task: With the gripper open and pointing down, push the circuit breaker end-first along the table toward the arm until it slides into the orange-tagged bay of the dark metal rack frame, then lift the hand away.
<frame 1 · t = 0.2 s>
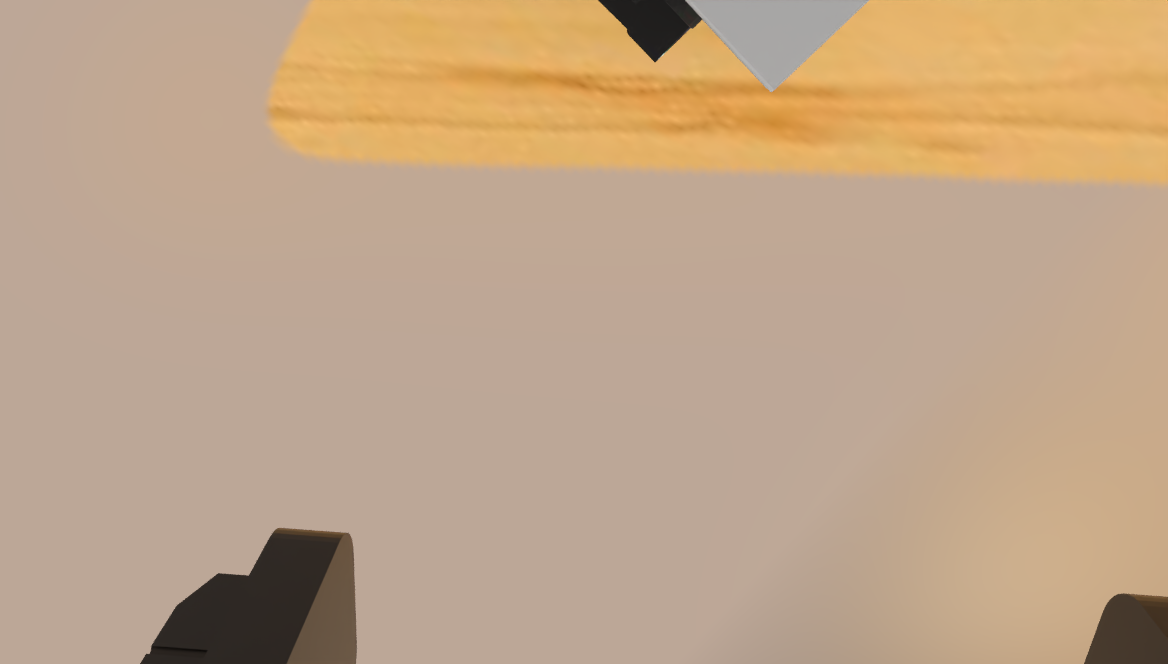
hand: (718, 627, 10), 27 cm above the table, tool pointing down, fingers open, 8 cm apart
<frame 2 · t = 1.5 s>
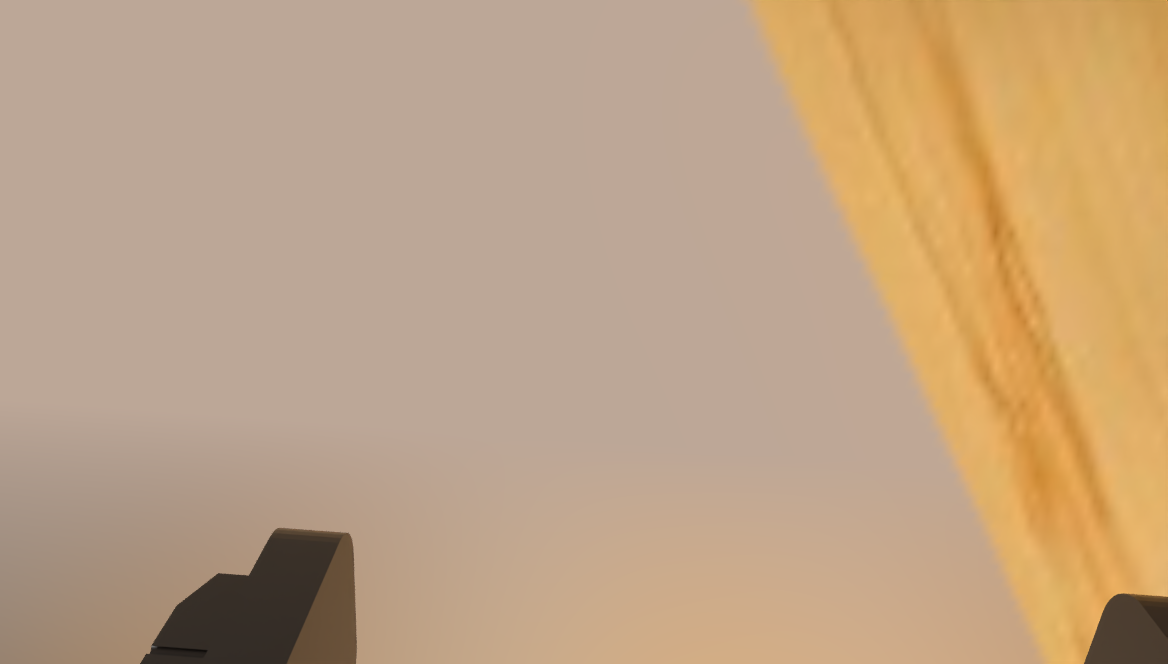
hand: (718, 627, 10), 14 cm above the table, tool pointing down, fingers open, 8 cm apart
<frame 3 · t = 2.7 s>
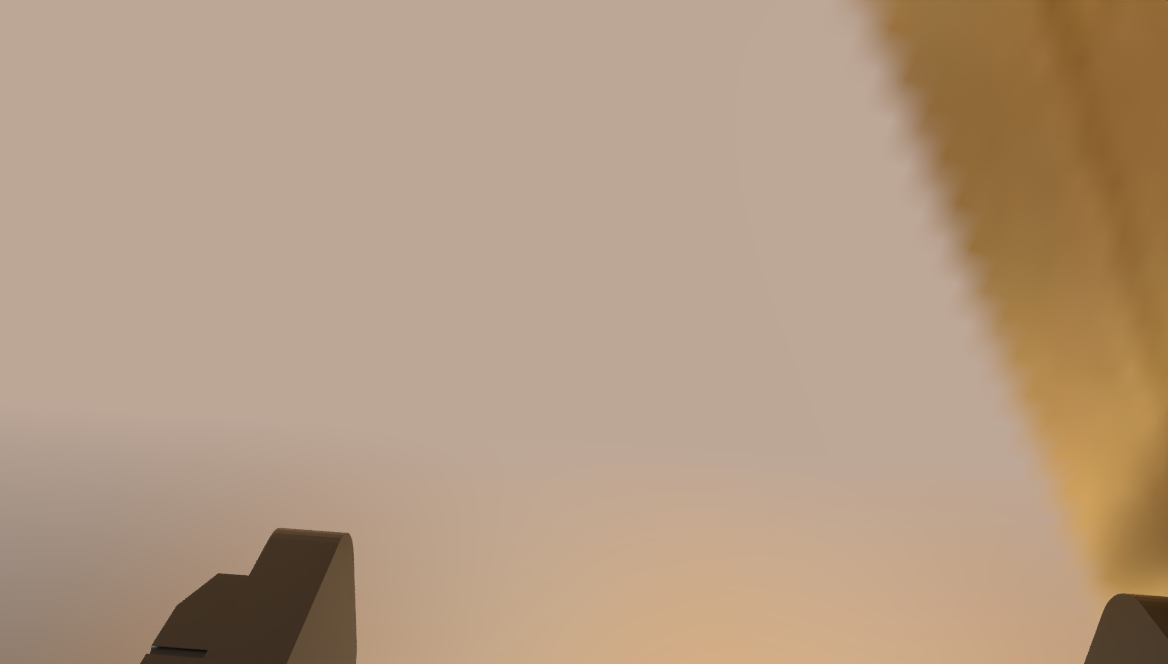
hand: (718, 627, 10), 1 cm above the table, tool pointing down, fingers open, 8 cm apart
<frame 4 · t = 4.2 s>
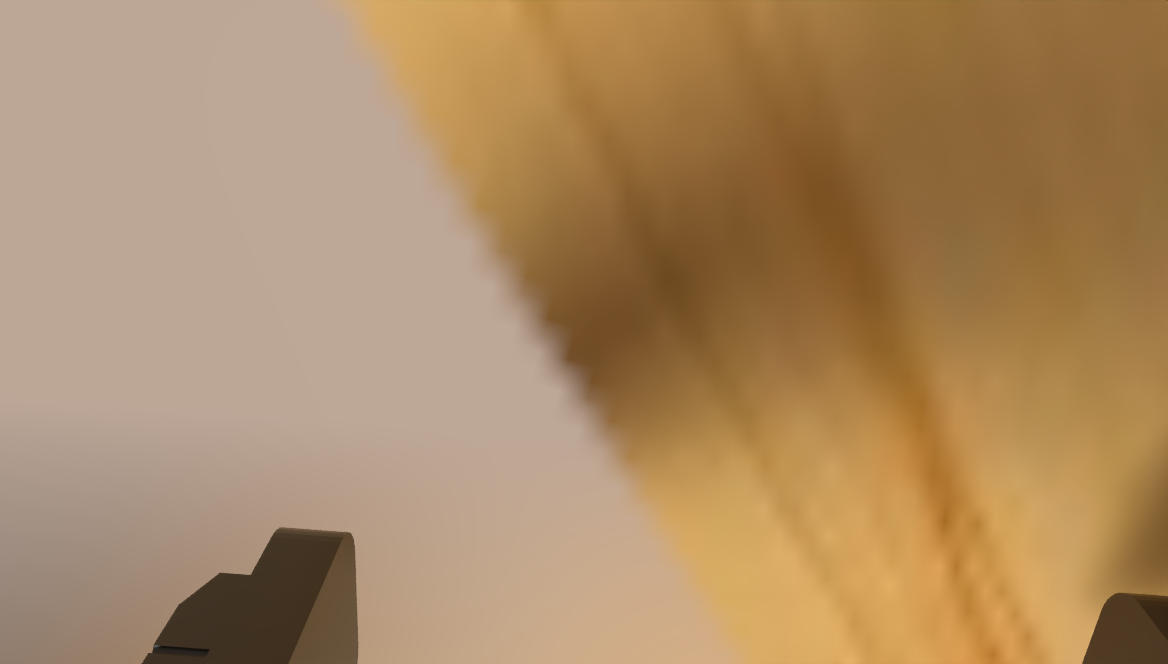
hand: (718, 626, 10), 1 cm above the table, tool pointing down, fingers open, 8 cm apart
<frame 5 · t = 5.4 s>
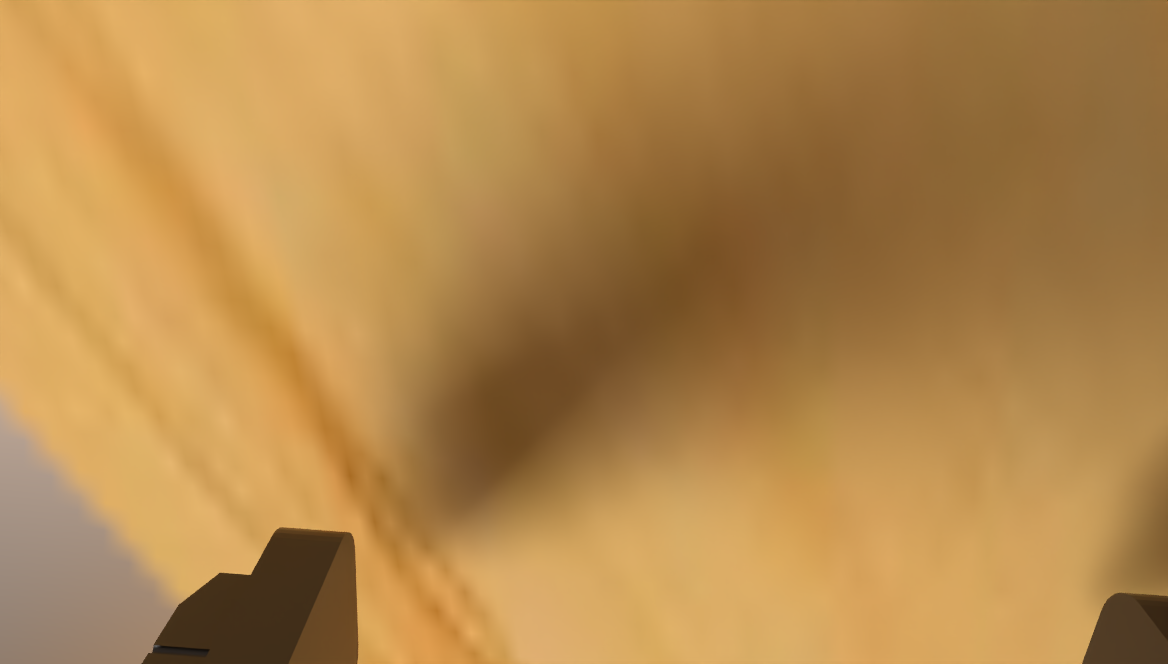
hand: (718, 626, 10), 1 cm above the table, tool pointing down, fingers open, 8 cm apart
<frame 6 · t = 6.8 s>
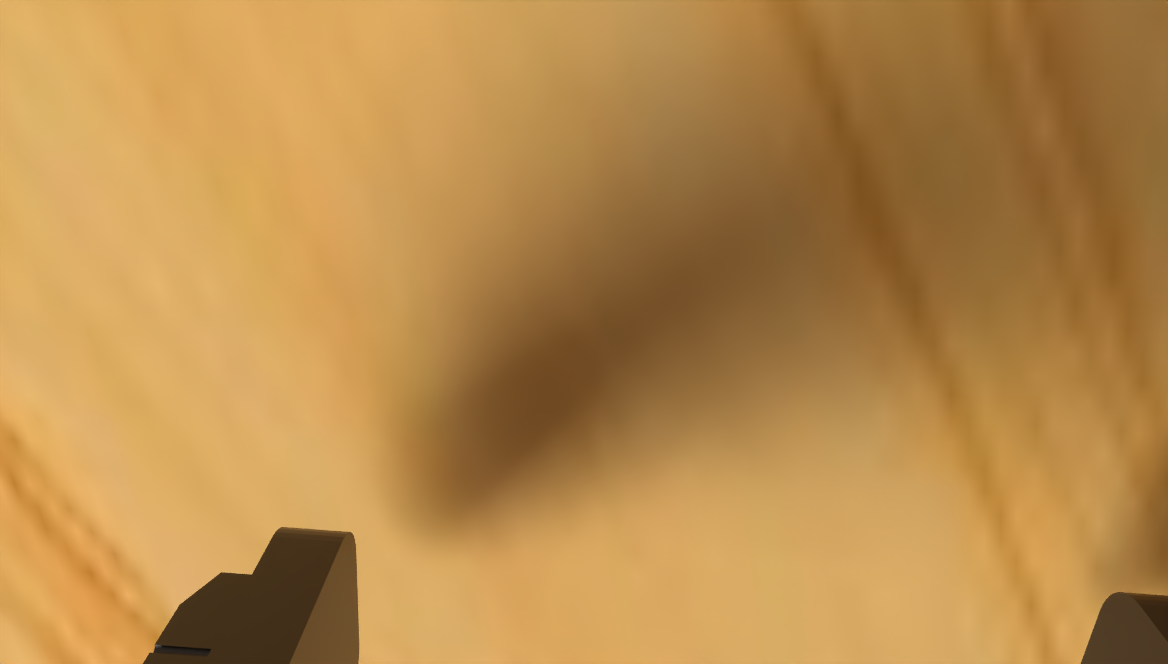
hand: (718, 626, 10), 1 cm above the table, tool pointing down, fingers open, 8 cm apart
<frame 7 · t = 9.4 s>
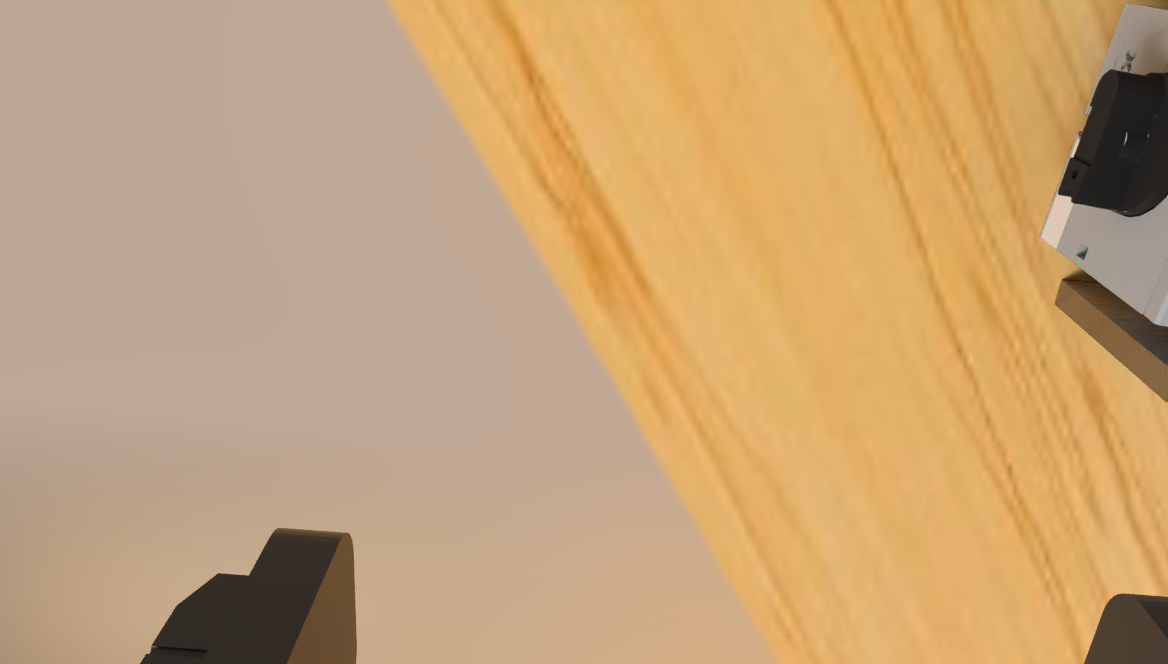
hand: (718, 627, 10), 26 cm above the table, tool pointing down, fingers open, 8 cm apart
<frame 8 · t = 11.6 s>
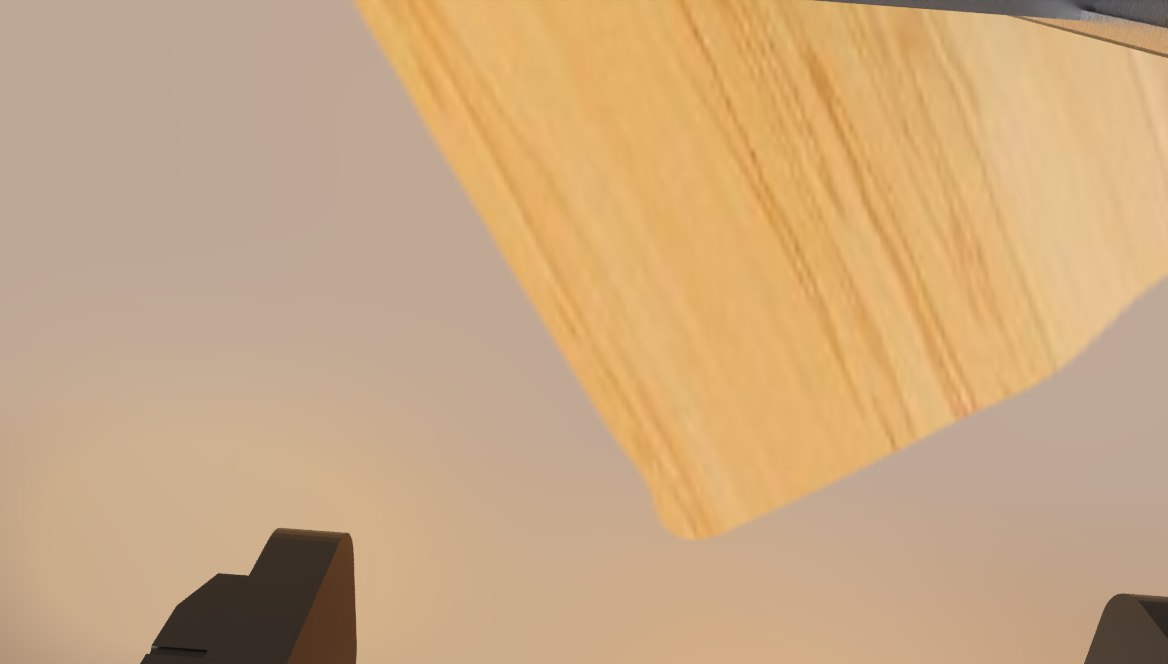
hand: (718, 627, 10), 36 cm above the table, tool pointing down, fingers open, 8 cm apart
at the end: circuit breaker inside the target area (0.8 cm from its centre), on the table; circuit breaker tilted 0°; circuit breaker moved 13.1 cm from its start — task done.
